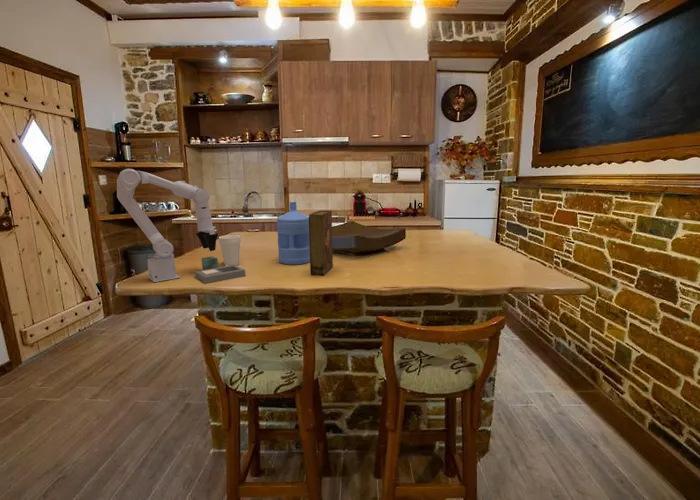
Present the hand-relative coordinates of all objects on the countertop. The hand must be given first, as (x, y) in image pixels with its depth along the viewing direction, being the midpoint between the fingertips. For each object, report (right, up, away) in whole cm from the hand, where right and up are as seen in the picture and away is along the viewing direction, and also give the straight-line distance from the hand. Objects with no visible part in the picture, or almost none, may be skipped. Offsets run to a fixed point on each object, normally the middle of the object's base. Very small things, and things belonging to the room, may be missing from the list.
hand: (209, 249), depth 152 cm
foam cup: (+5, -7, +14) cm, 16 cm away
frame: (+7, -11, -6) cm, 15 cm away
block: (0, -10, +2) cm, 10 cm away
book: (+48, -9, +1) cm, 49 cm away
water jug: (+34, -6, +19) cm, 39 cm away
